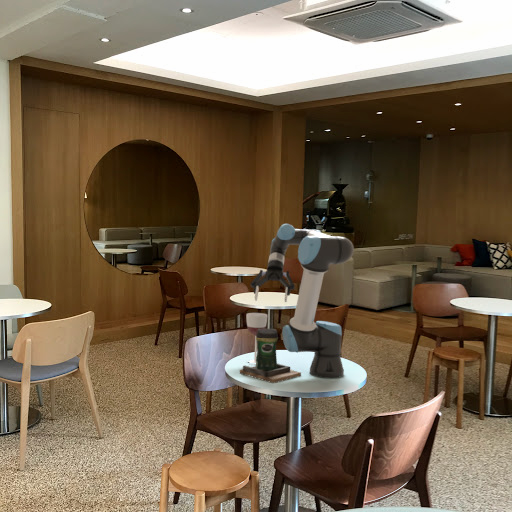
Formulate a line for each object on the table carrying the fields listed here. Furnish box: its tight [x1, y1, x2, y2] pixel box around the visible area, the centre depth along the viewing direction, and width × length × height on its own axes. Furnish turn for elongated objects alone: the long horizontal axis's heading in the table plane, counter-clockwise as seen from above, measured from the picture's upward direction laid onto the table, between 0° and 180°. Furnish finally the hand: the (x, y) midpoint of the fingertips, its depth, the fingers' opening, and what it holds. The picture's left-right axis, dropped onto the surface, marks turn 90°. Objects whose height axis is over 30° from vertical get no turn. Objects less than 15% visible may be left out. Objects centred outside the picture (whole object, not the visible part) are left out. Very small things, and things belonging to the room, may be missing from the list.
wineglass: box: [245, 312, 268, 363], centre depth 270 cm, size 9×10×23 cm
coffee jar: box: [254, 328, 279, 371], centre depth 249 cm, size 10×8×19 cm
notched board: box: [239, 363, 302, 384], centre depth 249 cm, size 20×18×4 cm
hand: (270, 299), depth 255 cm, fingers open, 13 cm apart
